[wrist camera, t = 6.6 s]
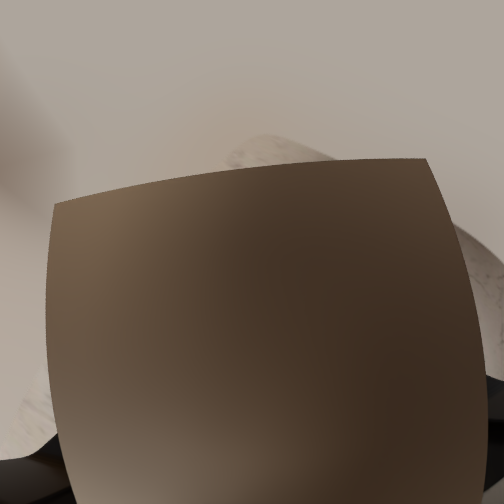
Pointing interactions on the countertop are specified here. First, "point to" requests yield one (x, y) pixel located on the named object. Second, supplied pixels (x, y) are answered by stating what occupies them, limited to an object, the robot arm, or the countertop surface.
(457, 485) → the walnut column
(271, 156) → the countertop surface
